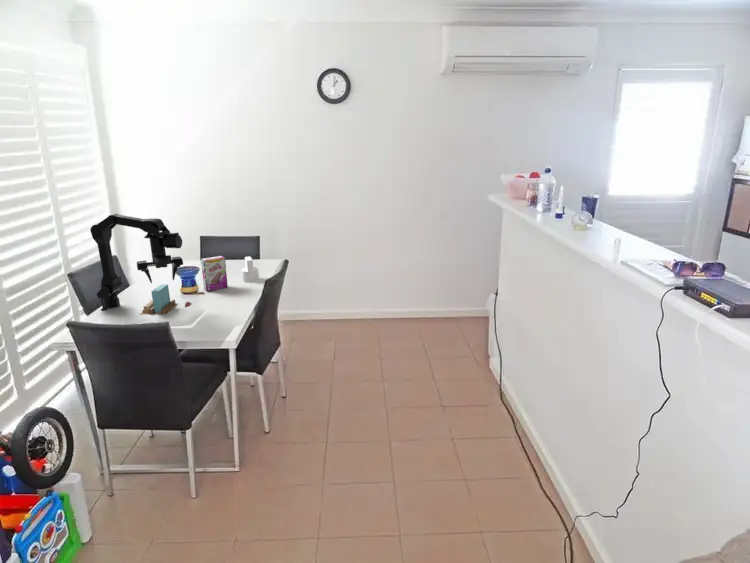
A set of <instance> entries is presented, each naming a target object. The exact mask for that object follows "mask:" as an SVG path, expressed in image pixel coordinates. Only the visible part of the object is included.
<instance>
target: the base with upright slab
mask: <svg viewBox="0 0 750 563" xmlns="http://www.w3.org/2000/svg"><path fill="white" fill-rule="evenodd" d="M244 263H245V264H244V265H245V267H243V268H241V270H240V271H241V273H240V274H241V282H243V281H244V283H254V282H258V281H260V276H259V267H255V266H254V260H253V258H252V257H251V256H245V257H244Z"/></svg>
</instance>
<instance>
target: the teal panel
mask: <svg viewBox="0 0 750 563" xmlns="http://www.w3.org/2000/svg"><path fill="white" fill-rule="evenodd" d="M151 297H152V300H153V305H154V312H155V313H161V309H162V308H163V307H164V306H166V305H167V304H168V303H169V302H170V301H171V298H170V297H171V295H170V289H169V284H159V285H158V286H157V287H156V288H154V289H153V290H151Z"/></svg>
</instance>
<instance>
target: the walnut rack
mask: <svg viewBox="0 0 750 563" xmlns="http://www.w3.org/2000/svg"><path fill="white" fill-rule="evenodd" d="M179 304H180V303H176V300H175V299H171V300H170V302H169V303H168V304H167V305H166V306H164V307H163V308H162V309H161V313H155V312H154V306H153V307H152V308H150V309H149V313H143V311H141V312H140V313H139V315H140V316H141V315H147V316H148V315H167V314H169V312H171V311H173V309H174V308H175V307H177V306H178V305H179Z"/></svg>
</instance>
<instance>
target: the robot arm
mask: <svg viewBox="0 0 750 563" xmlns="http://www.w3.org/2000/svg"><path fill="white" fill-rule="evenodd" d="M117 225H119V226H124V227H129V228H135V229H140V230H141V231H143V232H144V233H147V234H146V235H144V237H143V238H144V239H149V245H150V250H151V259H152V261H149V262H147V260H138V261H137V262H136V269H137V271H141V272H144V273H145V275H146V276H147V278H148V280H149V282H150V284H153V280H152V277H151V274H150V270H149V267H155V268H156V269H161V268H167V267H168V265H171V275H172V277H171V279H172V281H175V277H176V274H177V270H178V269H179V268H181V266H184V260H183V258H182V257H181V256H171V254H170V255H169V254H168V255H167V254H166V253H167V252H166V249H181V247H182V246H183V239H182V237H181V235H180V233H179V232H171V231H170V230H169V228H167V226H166V225H165V223H164V221H163V220H162V219H161V218H140V217H134V216H129V215H123V214H119V213H113V214H109V215H108V216H106V218H104V219H102V220H101V221H100V222H98V223H96V224H93V225H92V226H91V227H90V229H89V230H90V234H91V237H92V239H93V241H94V242H95V243H96V244H97V248H98V256H99V260H100V265H101V266H100V267H101V270H102V271H101V272H102V278H101V281H100V289H99V291H98V292H97V293H96V296H97V298H98V299H100V302H101V306H102V308H100V310H101V311H106V310H109V309H113V308H118V307H119V306H121V303H120V298H119V297H118V294H119V293H120V289H121V288H122V285H123V282H122V276H121V275H117V274H116V271H115V266H114V259H113V253H112V249H111V248H112V247H111V240H112V237H113V234H112V233H113V229H114V228H115V227H116V226H117Z"/></svg>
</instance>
